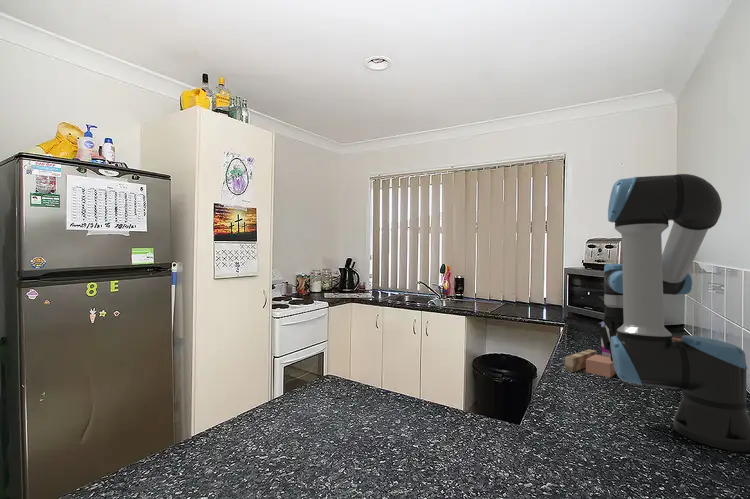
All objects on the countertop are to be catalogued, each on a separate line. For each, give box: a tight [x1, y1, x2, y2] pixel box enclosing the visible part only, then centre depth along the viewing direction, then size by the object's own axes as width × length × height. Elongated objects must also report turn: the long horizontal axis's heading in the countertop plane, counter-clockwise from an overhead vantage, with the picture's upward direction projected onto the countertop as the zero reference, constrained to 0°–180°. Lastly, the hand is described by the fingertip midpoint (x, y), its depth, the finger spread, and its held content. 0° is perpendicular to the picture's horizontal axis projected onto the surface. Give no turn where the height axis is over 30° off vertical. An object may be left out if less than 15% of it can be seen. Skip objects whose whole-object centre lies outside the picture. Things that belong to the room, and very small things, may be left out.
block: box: [585, 354, 617, 378], centre depth 140 cm, size 10×8×5 cm
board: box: [564, 349, 598, 373], centre depth 146 cm, size 19×3×5 cm, turn 126°
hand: (617, 370), depth 136 cm, fingers closed
